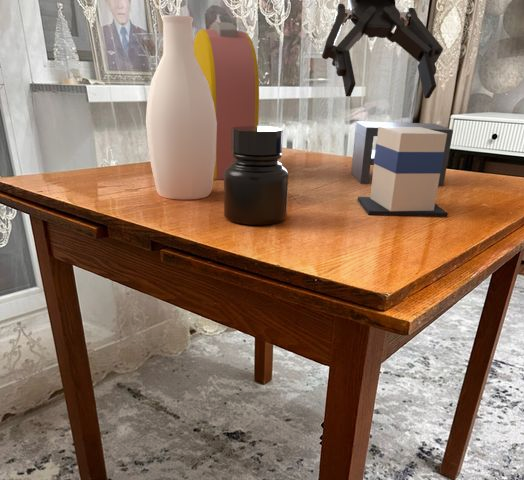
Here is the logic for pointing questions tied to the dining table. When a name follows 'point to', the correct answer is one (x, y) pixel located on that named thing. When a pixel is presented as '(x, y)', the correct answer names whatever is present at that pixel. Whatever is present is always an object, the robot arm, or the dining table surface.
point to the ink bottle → (256, 177)
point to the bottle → (181, 118)
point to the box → (407, 168)
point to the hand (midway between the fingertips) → (391, 91)
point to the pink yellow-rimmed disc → (229, 83)
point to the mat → (377, 209)
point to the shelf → (365, 154)
